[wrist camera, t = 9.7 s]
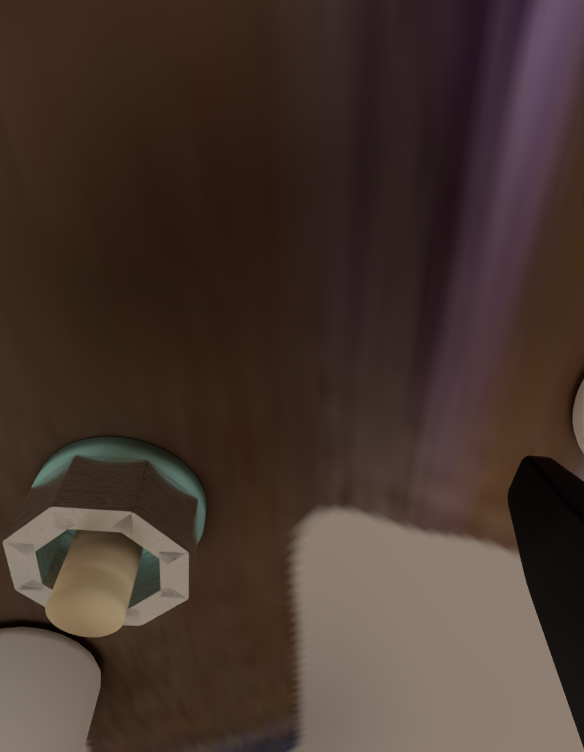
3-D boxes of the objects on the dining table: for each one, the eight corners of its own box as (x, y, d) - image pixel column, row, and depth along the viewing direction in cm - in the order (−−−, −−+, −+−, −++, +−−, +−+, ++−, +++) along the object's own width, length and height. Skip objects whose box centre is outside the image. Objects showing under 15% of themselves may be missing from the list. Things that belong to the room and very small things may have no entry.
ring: (199, 463, 24) (189, 515, 21) (197, 573, 28) (188, 628, 25) (23, 451, 23) (-8, 503, 21) (47, 564, 27) (22, 620, 25)
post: (208, 443, 25) (189, 552, 20) (204, 561, 29) (188, 675, 24) (24, 429, 24) (-44, 538, 19) (48, 551, 28) (-3, 666, 23)
